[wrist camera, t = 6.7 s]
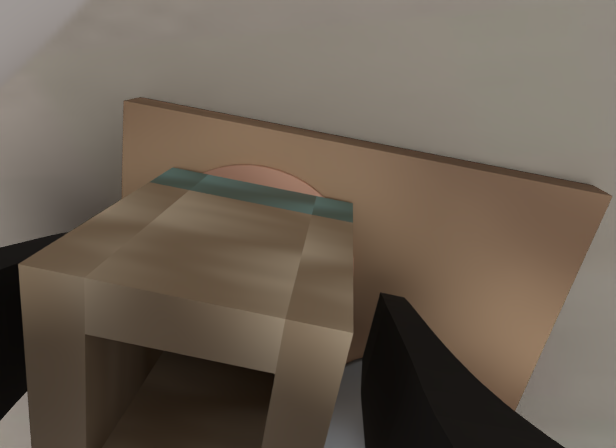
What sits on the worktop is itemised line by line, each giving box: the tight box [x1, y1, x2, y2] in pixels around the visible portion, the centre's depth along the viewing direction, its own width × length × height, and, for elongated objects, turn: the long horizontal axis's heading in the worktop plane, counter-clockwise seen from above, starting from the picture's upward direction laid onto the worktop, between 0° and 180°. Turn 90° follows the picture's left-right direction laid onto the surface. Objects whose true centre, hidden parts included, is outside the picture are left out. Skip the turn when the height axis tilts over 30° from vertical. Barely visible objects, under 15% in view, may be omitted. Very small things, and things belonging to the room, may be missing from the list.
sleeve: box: [18, 167, 353, 448], centre depth 10 cm, size 5×5×6 cm
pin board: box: [122, 97, 612, 448], centre depth 13 cm, size 13×13×4 cm
